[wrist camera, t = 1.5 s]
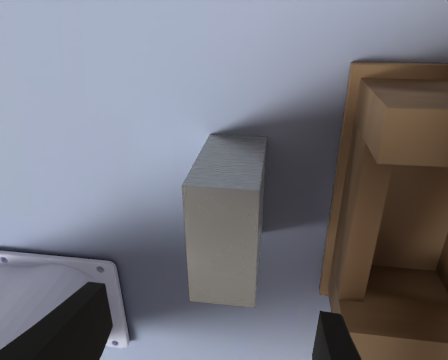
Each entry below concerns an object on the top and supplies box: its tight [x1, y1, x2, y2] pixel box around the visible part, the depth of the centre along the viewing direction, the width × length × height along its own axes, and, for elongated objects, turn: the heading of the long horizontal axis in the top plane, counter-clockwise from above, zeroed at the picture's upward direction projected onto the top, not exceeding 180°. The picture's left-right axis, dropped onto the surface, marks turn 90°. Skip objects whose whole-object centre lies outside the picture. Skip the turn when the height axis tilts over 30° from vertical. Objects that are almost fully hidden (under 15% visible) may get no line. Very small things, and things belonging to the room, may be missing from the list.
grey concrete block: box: [182, 134, 267, 308], centre depth 18 cm, size 3×6×6 cm, turn 1°
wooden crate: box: [319, 62, 448, 360], centre depth 17 cm, size 8×14×6 cm, turn 1°
